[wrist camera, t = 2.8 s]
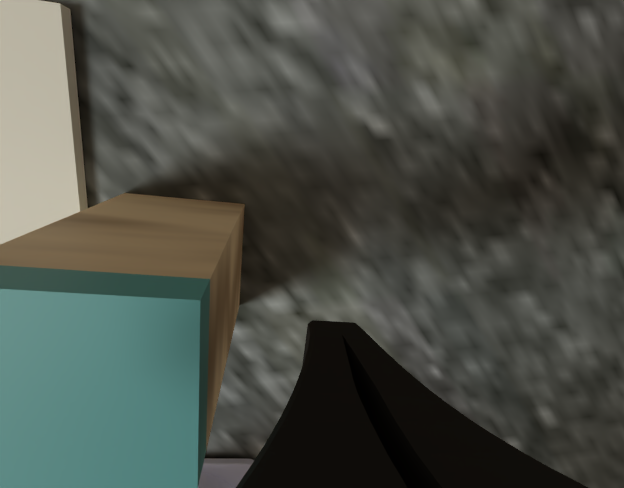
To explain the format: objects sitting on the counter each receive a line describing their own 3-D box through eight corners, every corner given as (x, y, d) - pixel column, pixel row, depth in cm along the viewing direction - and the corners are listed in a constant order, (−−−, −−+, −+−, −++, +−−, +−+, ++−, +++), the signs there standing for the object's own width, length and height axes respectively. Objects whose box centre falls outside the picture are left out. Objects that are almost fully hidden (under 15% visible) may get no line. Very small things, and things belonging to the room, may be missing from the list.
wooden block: (239, 305, 17) (197, 489, 8) (130, 299, 16) (-38, 490, 8) (244, 204, 15) (200, 300, 7) (124, 193, 14) (-94, 283, 6)
